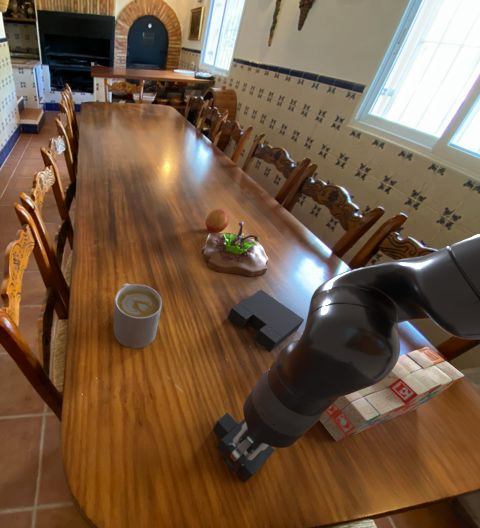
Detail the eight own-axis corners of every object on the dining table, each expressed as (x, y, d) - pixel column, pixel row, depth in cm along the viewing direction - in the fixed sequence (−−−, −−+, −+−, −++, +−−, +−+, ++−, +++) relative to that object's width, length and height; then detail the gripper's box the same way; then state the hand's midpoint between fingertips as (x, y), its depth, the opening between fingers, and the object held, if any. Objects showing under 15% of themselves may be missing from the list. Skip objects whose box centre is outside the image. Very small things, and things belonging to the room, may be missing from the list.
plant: (260, 243, 100) (272, 214, 93) (270, 281, 85) (286, 250, 78) (201, 233, 102) (208, 204, 95) (200, 269, 87) (209, 237, 80)
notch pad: (298, 328, 72) (304, 319, 70) (269, 352, 66) (275, 343, 64) (256, 298, 79) (261, 289, 77) (227, 317, 73) (231, 307, 71)
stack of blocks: (336, 443, 52) (378, 411, 44) (309, 409, 57) (343, 374, 49) (417, 408, 58) (467, 375, 50) (387, 380, 63) (428, 345, 55)
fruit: (230, 234, 103) (237, 214, 98) (212, 239, 100) (218, 218, 95) (216, 223, 109) (221, 203, 104) (198, 227, 106) (203, 207, 101)
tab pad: (227, 415, 55) (233, 406, 53) (267, 457, 50) (275, 450, 47) (205, 435, 52) (210, 426, 50) (245, 482, 47) (252, 475, 45)
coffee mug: (160, 346, 65) (167, 316, 59) (115, 350, 64) (117, 320, 58) (148, 302, 76) (153, 272, 69) (110, 304, 74) (111, 274, 68)
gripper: (276, 467, 33) (233, 505, 44) (336, 397, 40) (286, 444, 51) (224, 411, 38) (196, 458, 48) (286, 357, 45) (250, 408, 55)
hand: (242, 451), depth 50 cm, fingers closed on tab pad, 6 cm apart
